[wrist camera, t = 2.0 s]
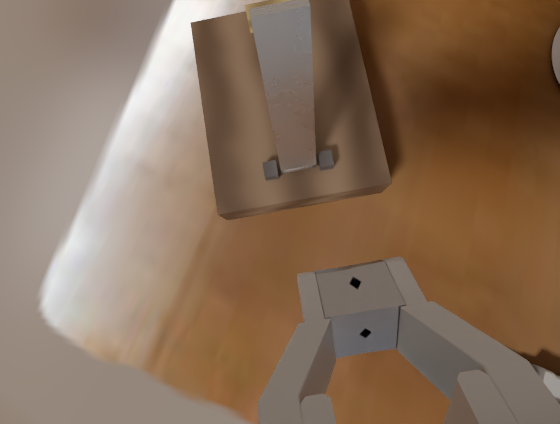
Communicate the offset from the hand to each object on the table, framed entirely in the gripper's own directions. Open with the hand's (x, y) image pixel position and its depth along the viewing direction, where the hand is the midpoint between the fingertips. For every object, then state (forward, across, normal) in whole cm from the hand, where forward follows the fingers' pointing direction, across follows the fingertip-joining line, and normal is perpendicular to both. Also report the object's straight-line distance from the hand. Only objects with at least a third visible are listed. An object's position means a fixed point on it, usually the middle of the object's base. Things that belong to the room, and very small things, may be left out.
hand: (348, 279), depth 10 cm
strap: (+17, 0, 0) cm, 17 cm away
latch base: (+28, 0, +5) cm, 29 cm away
